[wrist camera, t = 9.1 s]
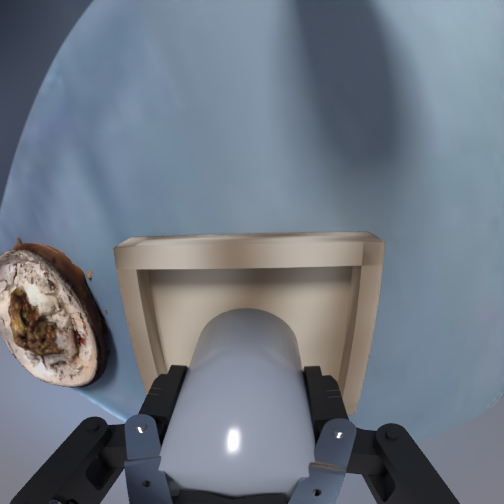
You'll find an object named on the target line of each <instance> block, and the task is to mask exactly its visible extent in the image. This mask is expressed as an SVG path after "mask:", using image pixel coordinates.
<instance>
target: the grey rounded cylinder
mask: <svg viewBox="0 0 504 504" xmlns="http://www.w3.org/2000/svg"><path fill="white" fill-rule="evenodd" d="M315 447H316V445H315V438H314V432H313V426H312V420H311V414H310V408H309V402H308V397H307V391H306V385H305V380H304V374H303V368H302V363H301V357H300V352H299V347H298V341H297V338H296V336H295V334H294V332H293V330H292V329H291V328H290V326H289V325H288V324H287V323H286V322H285V321H283V320H282V319H281V318H279V317H277V316H276V315H274V314H272V313H269V312H267V311H263V310H259V309H253V308H240V309H234V310H230V311H226V312H224V313H221V314H219V315H218V316H216V317H214V318H213V319H212V320H211V321H209V322H208V323H207V324H206V326H205V327H204V328H203V330H202V332H201V334H200V336H199V339H198V342H197V344H196V347H195V350H194V353H193V356H192V359H191V361H190V364H189V367H188V370H187V373H186V376H185V379H184V382H183V385H182V388H181V390H180V393H179V396H178V399H177V402H176V405H175V408H174V411H173V414H172V417H171V420H170V423H169V426H168V429H167V432H166V435H165V438H164V441H163V444H162V447H161V451H160V455H159V456H161V463H160V466H159V469H158V470H161V471H164V472H165V474H166V476H167V478H168V480H169V484H170V489H171V493H172V496H178V495H179V491H180V490H188V491H196V492H205V493H208V494H212V495H215V496H218V497H222V498H226V499H230V500H235V499H241V498H247V497H253V496H258V495H286V501H290V499H291V497H292V495H293V493H294V491H295V488H296V486H297V484H298V482H299V480H300V478H301V477H309V470H308V465H309V463H310V462H312V463H315V458H314V449H315Z"/></svg>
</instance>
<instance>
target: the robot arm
mask: <svg viewBox="0 0 504 504" xmlns="http://www.w3.org/2000/svg"><path fill="white" fill-rule="evenodd" d="M187 370H188V367H187V366H186V365H171V366H170V369H169V371H168V373H167V374H160V375H159V376H158V377H157V378H156V379H155V380H154V381H153V383H152V386H151V388H150V390H149V392H148V394H147V396H146V398H145V401H144V403H143V405H142V407H141V409H140V411H139V414H138V415H134V416H132V417H130V418H129V419H128V420H127V421H126V423H125V424H120V425H108V424H107V423H106V421H105V420H104V419H102V418H100V417H90V418H87V419H85V420H83V421H82V422H81V423H80V425H79V426H78V427H77V428H76V429H75V430H74V431H73V432H72V433H71V434H70V436H69V437H68V438H67V439H66V440H65V441H64V442H63V443H62V444H61V446H60V447H59V448H58V449H57V450H56V451H55V452H54V453H53V455H51V457H50V458H49V459H48V460H47V461H46V462H45V463H44V464H43V465H42V467H41V468H40V469H39V470H38V471H37V472H36V474H34V475H33V477H32V478H31V479H30V480H29V481H28V482H27V483H26V484H25V486H24V487H23V488H22V489H21V490H20V491H19V492H18V493H17V495H16V496H15V497H14V498H13V499H12V501H11V502H10V504H100V503H101V501H102V500H103V498H104V497H105V496H106V494H107V493H108V491H109V490H110V488H111V487H112V485H113V484H114V483H115V481H116V480H117V478H118V477H119V475H120V474H121V472H122V471H123V469H124V468H125V476H126V484H127V491H128V497H129V504H336V501H337V498H338V496H339V493H340V489H341V487H342V484H343V481H344V477H345V474H346V473H354V474H362V476H363V477H364V479H365V481H366V483H367V485H368V487H369V489H370V491H371V493H372V495H373V496H374V498H375V500H376V502H377V504H460V503H459V502H458V500H457V499H456V498H455V496H454V495H453V493H452V492H451V491H450V489H449V488H448V486H447V485H446V484H445V482H444V481H443V480H442V478H441V477H440V476H439V474H438V473H437V471H436V470H435V469H434V467H433V466H432V465H431V463H430V462H429V460H428V459H427V458H426V456H425V455H424V454H423V452H422V451H421V450H420V448H419V447H418V445H417V444H416V443H415V441H414V440H413V439H412V437H411V436H410V435H409V433H408V432H407V431H406V429H405V428H404V427H402V426H401V425H398V424H393V423H389V424H385V425H382V426H381V427H380V428H379V429H378V430H377V431H371V430H363V429H359V428H357V427H356V426H355V425H354V424H353V423H352V422H351V421H349V419H348V416H347V412H346V409H345V406H344V402H343V399H342V397H341V392H340V390H339V386H338V383H337V381H336V380H335V379H334V378H333V377H332V376H331V375H324V376H322V372H321V368H320V366H304V369H303V374H304V380H305V385H306V391H307V397H308V402H309V408H310V414H311V420H312V426H313V432H314V438H315V445H316V447H315V449H314V458H315V463H312V462H310V463H309V465H308V470H309V477H301V478H300V480H299V482H298V484H297V486H296V488H295V491H294V493H293V495H292V497H291V499H290V501H286V495H258V496H253V497H247V498H241V499H235V500H230V499H226V498H222V497H218V496H215V495H212V494H208V493H205V492H196V491H188V490H180V491H179V495H178V496H172V493H171V489H170V484H169V480H168V478H167V476H166V474H165V472H164V471H161V470H158V469H159V466H160V463H161V456H159V455H160V451H161V447H162V444H163V441H164V438H165V435H166V432H167V429H168V426H169V423H170V420H171V417H172V414H173V411H174V408H175V405H176V402H177V399H178V396H179V393H180V390H181V388H182V385H183V382H184V379H185V376H186V373H187Z"/></svg>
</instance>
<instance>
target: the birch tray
mask: <svg viewBox="0 0 504 504" xmlns="http://www.w3.org/2000/svg"><path fill="white" fill-rule="evenodd" d="M384 248H385V242H384V241H383V240H381V239H379V238H378V237H376V236H375V235H373V234H372V233H370V232H311V233H254V234H214V235H181V236H153V237H131V238H129V239H127V240H126V241H124V242H122V243H121V244H119V245H117V246H115V247H114V248H113V249H114V256H115V263H116V269H117V275H118V280H119V286H120V291H121V296H122V301H123V306H124V311H125V316H126V320H127V324H128V329H129V333H130V337H131V341H132V345H133V349H134V353H135V356H136V360H137V364H138V367H139V371H140V374H141V378H142V381H143V384H144V388H145V391H146V394H148V392H149V390H150V388H151V386H152V383H153V381H154V380H155V379H156V378H157V377H158V376H159V375H160V374H167V373H168V371H169V369H170V366H171V365H186V366H187V367H189V364H190V361H191V359H192V356H193V353H194V350H195V347H196V344H197V342H198V339H199V336H200V334H201V332H202V330H203V328H204V327H205V326H206V324H207V323H208V322H209V321H211V320H212V319H213V318H214V317H216V316H218V315H219V314H221V313H224V312H226V311H230V310H234V309H240V308H253V309H259V310H263V311H267V312H269V313H272V314H274V315H276V316H277V317H279V318H281V319H282V320H283V321H285V322H286V323H287V324H288V325H289V326H290V328H291V329H292V330H293V332H294V334H295V336H296V338H297V341H298V347H299V352H300V357H301V363H302V368H303V369H304V366H320V368H321V372H322V376H324V375H331V376H332V377H333V378H334V379H335V380H336V381H337V383H338V386H339V390H340V392H341V397H342V399H343V402H344V406H345V409H346V412H347V415H351V414H355V413H356V409H357V406H358V402H359V398H360V394H361V390H362V386H363V381H364V377H365V373H366V368H367V364H368V359H369V354H370V349H371V344H372V338H373V333H374V327H375V321H376V315H377V308H378V301H379V294H380V286H381V278H382V269H383V259H384Z"/></svg>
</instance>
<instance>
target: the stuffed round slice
mask: <svg viewBox="0 0 504 504" xmlns="http://www.w3.org/2000/svg"><path fill="white" fill-rule="evenodd" d="M17 240H18V241H17V243H18V244H17V245H15V246H14V249H13V250H9V251H8V252H5V253H2V254H1V256H0V334H1V336H2V338H3V340H4V342H5V343H6V345H7V346H8V348H9V351H10V352H11V353H12V354H13V355H14V356H15V358H16V359H18V361H19V362H20V363H21V364H22V366H23V367H24V368H25V369H26V370H27V371H28V372H29V373H31V374H32V375H33V376H35V377H36V378H38V379H40V380H42V381H44V382H46V383H49V384H52V385H58V386H63V387H86V386H88V385H90V384H92V383H94V382H96V381H97V380H98V379H99V378H101V376H102V375H103V373H104V371H105V368H106V365H107V358H108V356H109V350H108V348H107V341H106V337H105V336H106V334H107V328H106V325H105V322H104V317H103V316H102V314H101V312H100V311H99V310H98V308H97V306H96V303H95V302H94V300H93V299H92V297H91V293H90V292H89V290H88V288H87V285H86V283H85V275H84V273H83V271H82V270H81V269H80V268H79V267H78V266H75V265H74V264H72V262H71V261H70V259H69V258H68V257H66V256H65V254H64V253H62V252H60V251H58V250H56V249H54V248H52V247H49V246H44V245H39V244H33V243H24V244H20V243H19V238H17ZM91 274H92V271H91V270H90V272H89V273H88V274H87V277H88V279H90V278H91V276H92V275H91ZM105 313H107V310H105Z"/></svg>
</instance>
